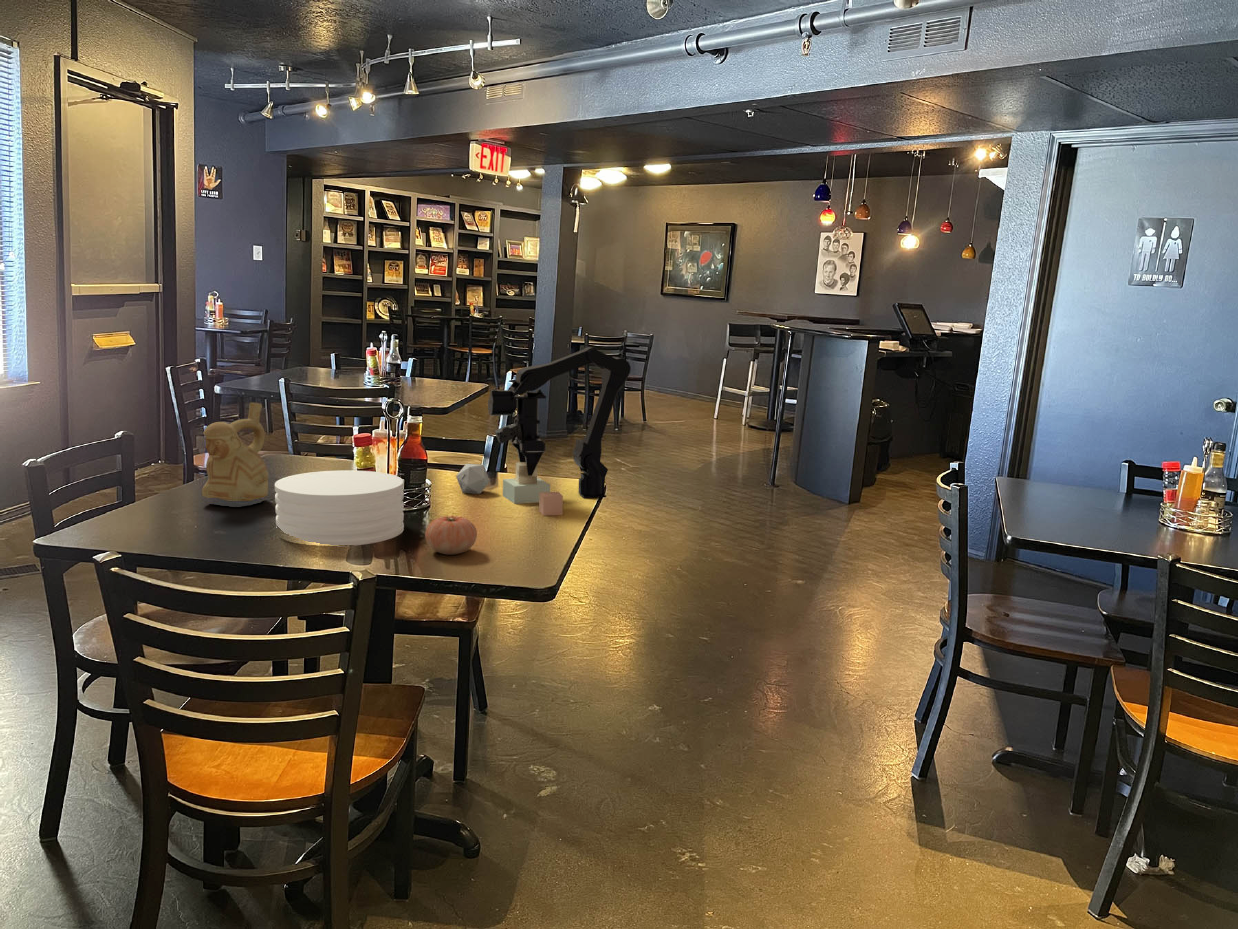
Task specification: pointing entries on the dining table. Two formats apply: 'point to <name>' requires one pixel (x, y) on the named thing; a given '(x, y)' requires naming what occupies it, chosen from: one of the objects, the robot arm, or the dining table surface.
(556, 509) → the terracotta cube
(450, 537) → the pumpkin
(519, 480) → the birch cube
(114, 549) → the dining table surface
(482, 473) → the die
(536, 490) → the sage block
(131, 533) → the dining table surface
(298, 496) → the plate stack
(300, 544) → the dining table surface
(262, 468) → the ceramic vessel
